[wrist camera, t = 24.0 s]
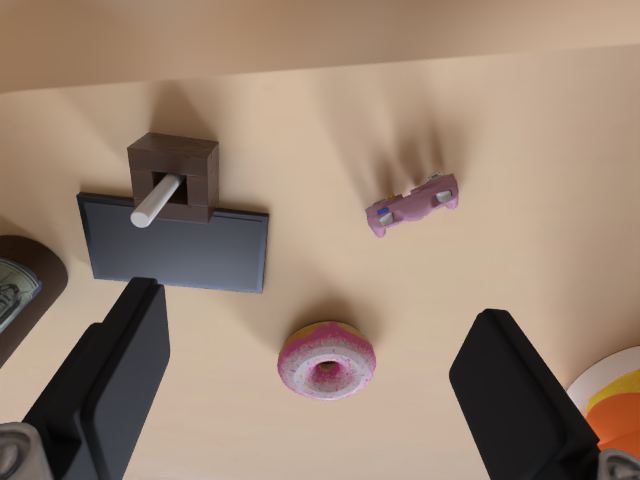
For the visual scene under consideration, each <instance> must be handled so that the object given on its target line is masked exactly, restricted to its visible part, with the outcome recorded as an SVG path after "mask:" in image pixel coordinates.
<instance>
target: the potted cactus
mask: <svg viewBox="0 0 640 480" xmlns="http://www.w3.org/2000/svg"><path fill="white" fill-rule="evenodd" d="M566 393H567V394H568V396H569V397H570V398H571V400H572V401H573V403H574V404H575V405H576V407H577V408H578V409H579V411H580V412H581V414H582V415H583V416H584V418H585V419H586V421H587V422H588V423H589V425H590V426H591V428H592V429H593V430H594V432H595V433H596V435H597V436H598V437H599V439H600V442H599V443H598V444H597V446H598V447H599V449H600V450H601V452H602V451H603V450H605V449H609V448H614V449H618V450H622V451H625V452H627V453H629V454H631V455H633V456H635V457H636V458H638V459H639V460H640V346H636V347H632V348H628V349H625V350H622V351H619V352H617V353H615V354H612V355H610V356H608V357H606V358H604V359H602V360H601V361H599V362H597V363H596V364H594V365H593V366H591V367H590V368H589V369H587V370H586V371H585V372H583V373H582V374H581V375H580V376H579V377H578V378H577V379H576V380H575V381H574V382H573V383H572V384H571V386H570V387H569V388H568V390H567V391H566Z"/></svg>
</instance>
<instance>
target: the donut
mask: <svg viewBox="0 0 640 480" xmlns="http://www.w3.org/2000/svg"><path fill="white" fill-rule="evenodd" d="M324 361H335V362H333V363H328V364H323V363H321V362H324ZM277 366H278V373H279V375H280V377H281V379H282V381H283V383H284V384H285V385H286V386H287V387H288V388H289V389H291V390H292V391H294V392H296V393H298V394H300V395H302V396H304V397H307V398H311V399H316V400H336V399H341V398H344V397H347V396H350V395H352V394H354V393H356V392H357V391H359V390H360V389H362V388H363V387H365V386H366V385H367V384H368V383H369V381H370V380H371V378H372V377H373V374H374V371H375V367H376V357H375V353H374V350H373V347H372V345H371V344H370V342H369V341H368V339H367V338H366V337H365V336H364V335H363V334H362V333H361V332H359V331H358V330H357V329H355V328H353V327H352V326H349V325H347V324H344V323H340V322H333V321H329V322H319V323H314V324H312V325H309V326H306V327H304V328H302V329H301V330H299V331H297V332H296V333H294V334H293V335H292V336H290V338H289V339H288V340H287V341H286V342H285V344H284V345H283V347H282V349H281V351H280V353H279V357H278V365H277Z"/></svg>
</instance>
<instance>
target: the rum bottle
mask: <svg viewBox="0 0 640 480" xmlns="http://www.w3.org/2000/svg"><path fill="white" fill-rule="evenodd" d="M67 281H68V276H67V271H66V269H65V267H64V265H63V263H62V262H61V260H60V259H59V258H58V257H57V256H56V255H55V254H54V253H53V252H52V251H51V250H49V249H48V248H46V247H45V246H43V245H41V244H40V243H38V242H35V241H33V240H30V239H27V238H24V237H19V236H0V369H1V367H2V366H3V365H4V363H5V362H6V361H7V360H8V358H9V357H10V356H11V355H12V353H13V352H14V351H15V350H16V348H17V347H18V346H19V345H20V343H21V342H22V341H23V339H24V338H25V337H26V336H27V334H28V333H29V332H30V331H31V329H32V328H33V327H34V326H35V324H36V323H37V322H38V321H39V320H40V318H41V317H42V316H43V315H44V314H45V312H46V311H47V310H48V309H49V308H50V306H51V305H52V304H53V303H54V302H55V300H56V299H57V298H58V297H59V296H60V294H61V293H62V292H63V291H64V289H65V287H66V285H67Z"/></svg>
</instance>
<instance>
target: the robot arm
mask: <svg viewBox="0 0 640 480" xmlns="http://www.w3.org/2000/svg"><path fill="white" fill-rule="evenodd" d="M169 358H170V342H169V331H168V321H167V310H166V299H165V289H164V285H163V284H158V281H157V279H155V278H146V277H133V278H132V279H131V280H130V282H129V283H128V285H127V286H126V288H125V289H124V291H123V292H122V294H121V295H120V297H119V298H118V300H117V301H116V303H115V304H114V305H113V307H112V308H111V310H110V311H109V313H108V314H107V316H106V317H105V319H104V320H103V322H102V323H93V324H91V325H90V326H89V327H88V328H87V330H86V331H85V332H84V334H83V335H82V337H81V338H80V339H79V341H78V342H77V344H76V345H75V347H74V348H73V349H72V351H71V352H70V354H69V355H68V356H67V358H66V359H65V361H64V362H63V364H62V365H61V366H60V368H59V369H58V371H57V372H56V373H55V375H54V376H53V378H52V379H51V381H50V382H49V383H48V385H47V386H46V388H45V389H44V390H43V392H42V393H41V395H40V396H39V397H38V399H37V400H36V402H35V403H34V405H33V406H32V407H31V409H30V410H29V412H28V413H27V414H26V416H25V417H24V419H23V420H22V422H11V423H4V424H0V480H122V478H123V476H124V473H125V471H126V468H127V466H128V463H129V461H130V458H131V456H132V453H133V450H134V448H135V445H136V443H137V440H138V438H139V435H140V433H141V430H142V428H143V425H144V423H145V420H146V418H147V415H148V413H149V410H150V408H151V405H152V402H153V400H154V397H155V395H156V392H157V390H158V387H159V385H160V382H161V380H162V377H163V375H164V372H165V370H166V367H167V365H168V362H169ZM449 379H450V383H451V385H452V387H453V390H454V392H455V395H456V397H457V399H458V402H459V404H460V407H461V409H462V412H463V414H464V416H465V419H466V421H467V424H468V426H469V429H470V431H471V433H472V436H473V438H474V441H475V443H476V445H477V448H478V450H479V453H480V455H481V458H482V460H483V462H484V465H485V467H486V470H487V472H488V474H489V477H490V479H491V480H640V460H639V459H638V458H636V457H635V456H633V455H631V454H629V453H627V452H625V451H622V450H618V449H614V448H609V449H605V450H603V451H602V452H601V450H600V449H599V447H598V446H597V444H598V443H599V442H600V439H599V437H598V436H597V435H596V433H595V432H594V430H593V429H592V428H591V426H590V425H589V423H588V422H587V421H586V419H585V418H584V416H583V415H582V414H581V412H580V411H579V409H578V408H577V407H576V405H575V404H574V403H573V401H572V400H571V398H570V397H569V396H568V394H567V393H566V391H565V390H564V389H563V387H562V386H561V384H560V383H559V382H558V380H557V379H556V377H555V376H554V375H553V373H552V372H551V370H550V369H549V368H548V366H547V365H546V363H545V362H544V361H543V359H542V358H541V356H540V355H539V354H538V352H537V351H536V349H535V348H534V347H533V345H532V344H531V343H530V341H529V340H528V338H527V337H526V336H525V334H524V333H523V331H522V330H521V329H520V327H519V326H518V324H517V323H516V322H515V320H514V319H513V317H512V316H511V315H510V313H509V312H508V311H506V310H499V309H485V310H484V311H483V312H482V313H479V314H478V315H477V317H476V319H475V321H474V323H473V325H472V327H471V329H470V331H469V333H468V335H467V337H466V339H465V341H464V343H463V345H462V347H461V349H460V351H459V353H458V355H457V356H456V358H455V360H454V362H453V364H452V366H451V368H450V371H449Z"/></svg>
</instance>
